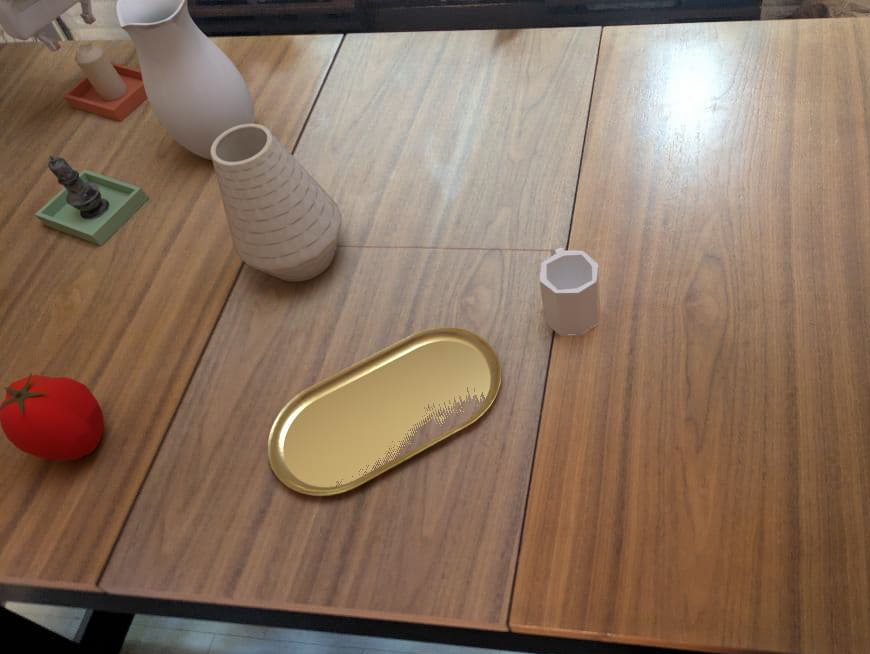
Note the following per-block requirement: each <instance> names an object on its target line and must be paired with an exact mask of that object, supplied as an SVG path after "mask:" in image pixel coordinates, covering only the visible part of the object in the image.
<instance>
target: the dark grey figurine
mask: <svg viewBox="0 0 870 654" xmlns="http://www.w3.org/2000/svg"><path fill="white" fill-rule="evenodd" d="M47 164H48V165H47V167H48V169H49V170H50V171H51V172H52V174H53V175H54V176H55V177H56V179H57V183H58V184H59V185H61V186H63V188H64V187H65V188H66V189H67V190H68V192H69V193H68V194H67V196H66V202H67V203H68V204H69V205H71V206H73V207H74V208H76V209H78V210H81V211H80V215H81V217H82V218H84V219H88V220H89V219H95V218H98V217H100V216H102V215H103V214H104V213H105V212H106V211H107V210H108V208H109V202H108V201H107V200H106V199H103V198H101V194H100V191H99V187H98V186H97V185H96V184H94V183H84V182H83V180H82V179H81V178H80V177H79V174H80V172H79V171H77V170H74V169H73V168H72V166H71V165H70V164H69V163H68V162H67V161H66V159H65V158H63V157H55V156H54V155H49V161H48V163H47Z"/></svg>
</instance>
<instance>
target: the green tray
mask: <svg viewBox="0 0 870 654" xmlns="http://www.w3.org/2000/svg"><path fill="white" fill-rule="evenodd" d="M79 177H80V178H81V179H82V180H83V182H84V183H94V184H96V185H97V186H98V187H99V191H100V194H101V198H103V199H106V200H107V201H108V202H109V208H108V210H107V211H106V212H105V213H104V214H103V215H102V216H100V217H98V218H95V219H89V220H88V219H84V218H82V217H81V215H80V211H81V210H78V209H76V208H74V207H73V206H71V205H69V204H68V203H67V202H66V196H67V194H68V193H69V192H68V190H67V189H66V188H65V187H64V186H63V188H62V189H61V190H60V191H58V192H57V194H55V195H54V196H53V197H52V198H51V199H49V201H47V202H46V204H45V205H43V206H42V207H41V208H40V209H39V210H38V211H37V212H36V213H34V216H35V217H36V218H37V219H38V220H39V221H40V222H41V223H42V224H43V225H44V226H46V227H49V228H51V229H54V230H57V231H60V232H62V233H65V234H67V235H70V236H73V237H76V238H78V239H81V240H84V241H87V242H89V243H91V244H94V245H97V246H100V247H102V246H103V245H104V244H105V243H106V242H107V241H108V240H109V239H110V238H111V237H112V236H113V235H114V234H115V233H116V232H117V231H118V230H119V229H120V228H121V227H122V226H123V225H125V224H126V222H127V221H128V220H129V219H130V218H131V217H132V216H133V215H135V214H136V212H137V211H138V210H139V209H141V207H143V205H145V203H146V202H148V200H149V196H148V195H147V194H146V192H145V191H144V190H143V189H142V187H141V186H140V187H139V186H137V185H135V184H134V185H133V184H130V183H127V182H124V181H121V180H118V179H116V178H112V177H110V176H106V175H103V174H100V173H96V172H94V171H91V170H88V169H82V170H81V172H79Z"/></svg>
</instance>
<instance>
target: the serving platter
mask: <svg viewBox="0 0 870 654" xmlns="http://www.w3.org/2000/svg"><path fill="white" fill-rule="evenodd" d="M502 373H503V372H502V365H501V361H500V358H499V357H498V354H497V351H496V350H495V349H494V348H493V346H492V345H491V344H490V343H489V342H488V341H487V340H486V339H485V338H483V337H482V336H480V335H478V334H477V333H475V332H472V331H471V330H468V329H465V328H460V327H456V326H455V327H454V326H437V327H431V328H426V329H423V330H420V331H417V332H414V333H412V334H410V335H408V336H407V337H404V338H402V339H400V340H398V341H397V342H394V343H392V344H391V345H389V346H387V347H385V348H383V349H381V350H379V351H377V352H375V353H372V354H371V355H369V356H367V357H365V358H363V359H361V360H360V361H357V362H355V363H353V364H351V365H349V366H348V367H345V368H344V369H341V370H339V371H338V372H336V373H334V374H332V375H330V376H328V377H326V378H324V379H322V380H320V381H318V382H316V383H315V384H313V385H310V386H308V387H307V388H305V389H304V390H302V391H301V392H299V393H298V394H296V395H295V396H294V397H292V398H291V399H290V400H289V401H288V402H287V403H286V405H284V407H282V409H281V410H280V412H279V413H278V415H276V418H275V420H274V422H273V424H272V426H271V428H270V430H269V431H270V432H269V435H268V440H267V457H268V462H269V464H270V467H271V469H272V471H273V473H274V475H275V476H276V477H277V478H278V480H279V481H280V482H281V483H283V485H285V486H286V487H287V488H289V489H291V490H292V491H295V492H296V493H299V494H302V495H305V496H312V497H331V496H332V497H333V496H337V495H341V494H344V493H348V492H350V491H353V490H355V489H357V488H359V487H361V486H362V485H365V484H366V483H368V482H370V481H372V480H373V479H374V480H375V478H377V477H379V476H381V475H382V474H384V473H387V472H388V471H390V470H392V469H394V468H395V467H398V466H399V465H401V464H403V463H404V462H406V461H408V460H410V459H412V458H414V457H415V456H417V455H419V454H421V453H423V452H424V451H426V450H428V449H430V448H432V447H433V446H435V445H438V444H439V443H441V442H443V441H445V440H446V439H448V438H450V437H452V436H453V435H455V434H458V433H459V432H461V431H463V430H465V429H467V428H469V427H470V426H471V425H473V424H475V423H476V422H477V421H479V420H480V419H481V418H482V417H483V416H484V415H485V414H486V413H487V412H488V411H489V410H490V408H491V407H492V405H493V404H494V402H495V400H496V398H497V397H498V394H499V391H500V389H501V384H502V378H503V377H502V375H503V374H502ZM467 387H468V391H469V394H470V397H471V399H473V396H474V395H477V398H478V400H479V402H480V398H481V399H482V397H480V396H481V394H482V392H483V395H484V397H485V402H484V405H482V407H480V409H478V411H477V413H475V415H474V416H472V417H470V419H468V420H467V421H465V422H463V423H461V424H460V425H459V426H457V427H455V428H453V429H451V430H450V429H449V431H448V430H447V432H445V433H444V434H442V435H440V436H439V435H438V437H436V438H434V439H433V440H431V441H429V442H428V443H425V444H423V445H421V447H419V448H417V447H416V449H414V450H412V451H409V452H408V454H405V455H403V456H400V457H398V458H395V460H394V457H395V455H396V453H397V450H398V448H399V446H400V447H401V445H402V442H403V440H404V442H405V439H406V436H407V438H408V435H409V437H410V435H411V436H412V434H413V431H414V427H415V430H416V426H417V428H418V425H419V422H420V424H421V420H422V423H423V419H424V421H425V418H426V420H427V416H428V418H429V414H430V417H431V413H432V415H433V418H434V420H435V417H434V414H433V411H434V413H435V416H436V411H437V414H438V409H439V412H440V414H441V411H440V407H441V410H442V412H443V408H444V410H445V413H446V408H447V411H448V413H449V410H448V406H449V408H450V411H451V406H452V408H453V403H454V397H455V400H456V403H457V402H459V403H460V405H461V402H460V399H459V397H460V396H461V399H462V402H463V401H464V400H465V402H466V395H467V398H468V395H469V394H468V392H467ZM474 388H475V392H474ZM459 395H460V396H459ZM449 400H450V403H451V404H449ZM475 400H476V399H475ZM490 400H491V401H490ZM468 401H469V400H468ZM482 401H483V399H482ZM444 402H445V405H446V408H445V405H444ZM433 403H434V406H435V408H434V407H433ZM428 404H429V407H430V410H431V411H430V410H429V408H428ZM439 404H440V406H439ZM454 406H455V403H454ZM477 406H478V405H477ZM424 407H425V409H424ZM431 407H432V408H433V410H432V408H431ZM426 408H427V409H428V411H427V409H426ZM461 408H462V407H461ZM435 409H436V411H435ZM459 410H460V409H459ZM425 411H426V412H425ZM453 411H454V409H453ZM456 411H457V410H456ZM460 412H461V410H460ZM463 412H464V411H463ZM426 413H427V414H426ZM451 413H452V411H451ZM454 413H455V412H454ZM457 413H458V412H457ZM424 415H425V416H424ZM443 415H444V413H443ZM446 415H447V414H446ZM449 415H450V414H449ZM422 416H423V417H422ZM438 416H439V414H438ZM441 417H442V418H441ZM441 417H440V416H439V419H440V421H441V423H442V419H443V421H444V417H445V415H444V417H443V416H442V415H441ZM447 417H448V416H447ZM436 418H437V420H438V417H437V416H436ZM431 419H432V417H431ZM445 419H446V417H445ZM429 421H430V419H429ZM427 422H428V420H427ZM435 422H436V421H435ZM438 422H439V420H438ZM417 423H418V425H417ZM444 423H445V422H444ZM415 424H416V426H415ZM425 424H426V422H425ZM436 424H437V423H436ZM439 424H440V423H439ZM442 424H443V423H442ZM413 425H414V426H413ZM423 425H424V423H423ZM421 426H422V424H421ZM440 426H441V425H440ZM419 427H420V425H419ZM412 428H413V431H412ZM410 429H411V431H410ZM408 430H409V431H408ZM411 432H412V434H411ZM416 432H417V431H416ZM407 433H408V435H407ZM414 433H415V431H414ZM405 434H406V435H405ZM413 436H414V434H413ZM404 437H405V439H404ZM410 439H411V438H410ZM408 440H409V438H408ZM392 441H393V442H392ZM399 441H400V442H399ZM401 441H402V442H401ZM406 441H407V439H406ZM404 442H403V444H404ZM409 442H410V441H409ZM400 443H401V445H400ZM405 443H406V442H405ZM407 443H408V442H407ZM408 444H409V443H408ZM410 444H411V443H410ZM394 445H395V446H394ZM390 446H391V447H390ZM397 446H398V447H397ZM404 446H405V445H404ZM393 447H394V448H393ZM402 447H403V445H402ZM389 448H390V450H391V451H390V450H389ZM391 448H392V449H391ZM394 449H395V450H394ZM396 449H397V450H396ZM401 449H402V448H401ZM392 450H393V451H394V452H393V451H392ZM399 450H400V448H399ZM399 450H398V452H399ZM386 451H387V452H386ZM388 451H389V452H390V454H391V452H392V454H393V455H394V453H395V455H394V457H393V455H392V454H391V456H392V457H393V459H392V458H391V456H390V454H389V453H388ZM395 451H396V452H395ZM385 453H386V454H385ZM387 453H388V455H389V456H390V458H391V459H390V458H389V457H388V455H387ZM397 454H398V453H397ZM399 454H400V453H399ZM386 455H387V457H388V458H389V460H390V462H389V460H388V459H387V457H386ZM396 456H397V455H396ZM385 457H386V459H387V460H388V464H387V463H386V464H385V465H384V463H385V462H384V463H383V461H384V459H385ZM379 458H380V459H379ZM383 458H384V459H383ZM386 459H385V461H386ZM378 460H379V462H380V464H381V465H382V463H383V465H382V466H380V465H379V466H380V468H379V466H378V465H377V466H378V468H377V466H376V464H377V462H378ZM380 460H381V461H380ZM382 460H383V461H382ZM391 460H392V461H391ZM376 461H377V462H376ZM379 462H378V464H379ZM381 462H382V463H381ZM375 463H376V464H375ZM366 465H367V466H366ZM368 465H369V466H368ZM374 465H375V466H376V468H377V469H375V471H374V468H375V466H374ZM373 466H374V468H373ZM367 467H368V468H367ZM372 468H373V469H372ZM360 469H361V470H360ZM362 469H363V470H362ZM366 469H367V470H366ZM371 470H372V471H371ZM359 471H360V472H359ZM365 471H366V472H367V473H366V472H365ZM364 472H365V473H364ZM359 474H360V475H359ZM363 474H364V475H363ZM365 474H366V475H365ZM352 476H353V477H352ZM342 479H343V480H342ZM337 481H338V482H339V484H340V485H339V484H338V482H337ZM341 481H342V482H341ZM351 481H352V482H351ZM336 482H337V483H336ZM340 482H341V483H340ZM337 484H338V485H339V486H338V485H337ZM341 484H342V486H341ZM336 485H337V487H336ZM331 486H332V487H331Z"/></svg>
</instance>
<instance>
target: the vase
mask: <svg viewBox="0 0 870 654" xmlns="http://www.w3.org/2000/svg"><path fill="white" fill-rule="evenodd" d="M211 157H212V160H211V161H212V165H213V168H214V173H215V176H216V181H217V184H218V188H219V192H220V196H221V197H220V198H221V201H222V205H223V208H224V212H225V217H226V221H227V225H228V228H229V232H230V236H231V240H232V244H233V248H234V250H235V252H236V254H237V257H239V259H240V260H242V261H243V262H244V263H245V264H246V265H248V266H249V267H251V268H253V269H256V270H258V271H261V272H263V273H265V274H268V275H270V276H272V277H275V278H278V279H280V280H283V281H285V282H292V283H299V282H305V281H309V280H311V279H313V278H316V277H318V276H320V275H321V274H322V273H324V272H325V271H326V270H327V269H328V268H329V267H330V266H331V264H332V262H333V260H334V259H335V256H336V251H337V248H338V247H337V246H338V242H339V238H340V233H341V229H342V214H341V211H340V207H339V206H338V204H337V202H336V201H335V199H333V197H332V196H330V195H329V193H327V191H326V190H325V189H324V188H323V187H322V186H321V185H320V183H318V181H316V179H315V178H314V177H313V176H312V175H311V174H310V173H309V171H307V170H306V168H305V167H304V166H303V165H302V164H301V163H300V162H299V161H298V160H297V159H296V158H295V156H294V155H293V154H292V153H291V152H290V151H289V150H288V149H287V148H286V146H285V145H284V144H283V143H282V142H281V141H280V140H279V139H278V138H277V137H276V136H275V135H274V133H273V132H272V131H271V130H270V129H269V128H268V127H266V126H265V125H262V124H258V123H255V124H243V125H238V126H235V127H233V128H230V129H228V130H226V131H225V132H223V133H222V134H221V135H219V136H218V137H217V138H216V140H215V141H214V142H213V144H212V146H211Z"/></svg>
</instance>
